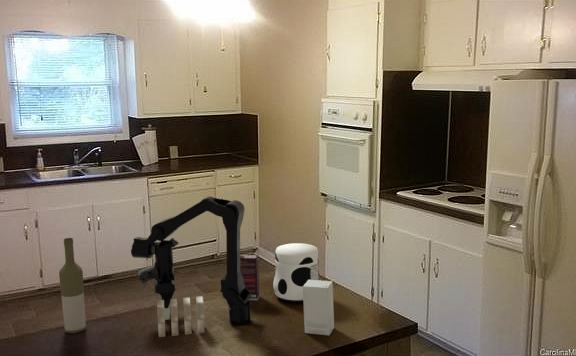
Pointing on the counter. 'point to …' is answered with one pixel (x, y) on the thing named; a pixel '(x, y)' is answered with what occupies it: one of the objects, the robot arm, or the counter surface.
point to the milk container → (294, 270)
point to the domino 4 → (187, 315)
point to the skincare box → (318, 307)
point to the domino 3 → (174, 317)
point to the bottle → (72, 291)
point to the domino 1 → (161, 318)
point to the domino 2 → (167, 313)
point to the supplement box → (250, 274)
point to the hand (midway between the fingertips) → (166, 303)
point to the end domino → (200, 314)
